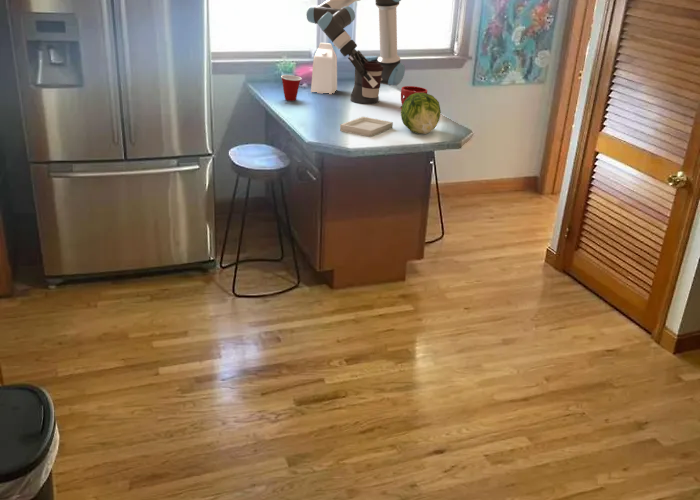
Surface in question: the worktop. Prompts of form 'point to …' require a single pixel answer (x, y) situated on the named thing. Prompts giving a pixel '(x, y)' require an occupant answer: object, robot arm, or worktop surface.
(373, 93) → the coffee cup
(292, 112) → the worktop surface
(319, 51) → the milk
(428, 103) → the lettuce
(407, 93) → the plant pot
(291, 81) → the plastic cup
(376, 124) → the tray
